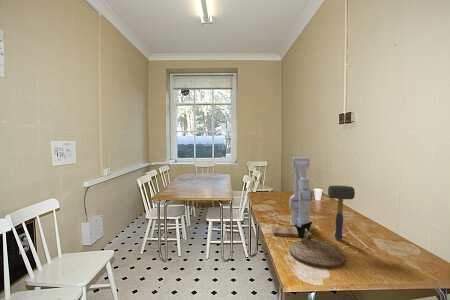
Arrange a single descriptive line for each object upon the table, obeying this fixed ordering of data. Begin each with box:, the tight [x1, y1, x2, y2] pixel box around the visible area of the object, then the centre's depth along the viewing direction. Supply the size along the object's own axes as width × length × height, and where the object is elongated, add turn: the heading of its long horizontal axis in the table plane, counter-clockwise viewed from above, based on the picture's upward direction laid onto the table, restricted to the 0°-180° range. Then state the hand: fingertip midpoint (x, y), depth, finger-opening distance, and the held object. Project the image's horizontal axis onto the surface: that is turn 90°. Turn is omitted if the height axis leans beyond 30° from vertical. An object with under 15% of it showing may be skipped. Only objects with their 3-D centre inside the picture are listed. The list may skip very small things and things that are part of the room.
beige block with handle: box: [299, 229, 309, 241], centre depth 138 cm, size 4×14×6 cm, turn 177°
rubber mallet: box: [327, 184, 356, 241], centre depth 136 cm, size 12×8×30 cm, turn 82°
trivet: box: [289, 239, 347, 269], centre depth 118 cm, size 25×25×2 cm
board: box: [271, 226, 313, 238], centre depth 143 cm, size 21×9×2 cm, turn 86°
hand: (303, 236), depth 135 cm, fingers closed on beige block with handle, 7 cm apart
